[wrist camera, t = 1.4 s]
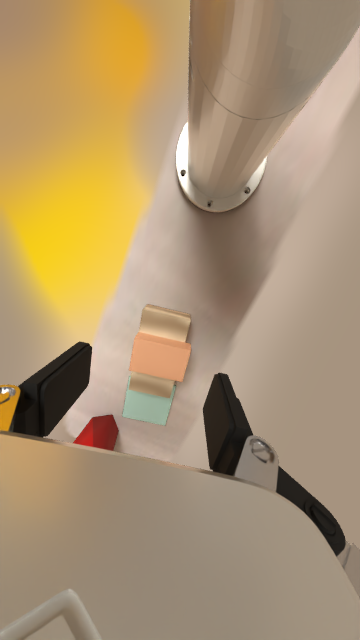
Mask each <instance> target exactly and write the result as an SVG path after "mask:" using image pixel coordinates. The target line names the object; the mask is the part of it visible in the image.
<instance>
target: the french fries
mask: <svg viewBox="0 0 360 640" xmlns="http://www.w3.org/2000/svg"><path fill="white" fill-rule="evenodd" d="M118 431H119V430H118V428H117V425H116V422H115V420H114V417H113V415H106V416H99V417H93V418H92V419H91V420H90V421H89V423H88V424H87V425H86V427H85V428H84V429H83V431H82V432H81V433H80V434H79V436H78V437H77V438H76V440H75V441H74V442H73V443H74V444H79V445H84V446H89V447H95V448H100V449H105V450H110V451H113V449H114V445H115V442H116V438H117V435H118Z"/></svg>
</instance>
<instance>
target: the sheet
mask: <svg viewBox="0 0 360 640" xmlns="http://www.w3.org/2000/svg"><path fill="white" fill-rule="evenodd" d="M190 322H191V318H190V314H187V313H183V312H178V311H174V310H170V309H166V308H162V307H157V306H153V305H149V304H148V305H147V306H146V307H145V308H144V309H143V311H142V317H141V322H140V328H139V332H141V333H146V334H150V335H154V336H159V337H163V338H167V339H172V340H176V341H181V342H185V341H186V337H187V333H188V329H189V326H190ZM174 381H175V380H170V379H166V378H161V377H157V376H152V375H148V374H143V373H139V372H134V371H132V373H131V378H130V384H129V390H133V391H137V392H142V393H147V394H151V395H156V396H161V397H165V398H170V396H171V392H172V389H173V385H174Z"/></svg>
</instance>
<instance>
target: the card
mask: <svg viewBox="0 0 360 640" xmlns="http://www.w3.org/2000/svg"><path fill="white" fill-rule="evenodd" d="M190 353H191V344H189V343H185V342H181V341H176V340H172V339H167V338H163V337H159V336H154V335H150V334H146V333H141V332H138V334H137V335H136V337H135V339H134V345H133V351H132V356H131V362H130V368H129V371H134V372H139V373H143V374H148V375H152V376H157V377H161V378H166V379H170V380H175V381H180V382H182V381H183V377H184V374H185V370H186V367H187V363H188V360H189V356H190Z"/></svg>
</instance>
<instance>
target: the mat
mask: <svg viewBox="0 0 360 640" xmlns="http://www.w3.org/2000/svg"><path fill="white" fill-rule="evenodd" d="M130 378H131V376H129V381H128V386H127V392H126V398H125V404H124V409H123V415H122V417H125V418H130V419H135V420H140V421H145V422H150V423H154V424H159V425H164V426H165V424H166V421H167V417H168V414H169V410H170V406H171V403H172V399H173V395H174V392H175V388H176V386H175V385H173V389H172V392H171V396H170V398H165V397H161V396H156V395H151V394H147V393H142V392H137V391H133V390H129V384H130Z"/></svg>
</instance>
